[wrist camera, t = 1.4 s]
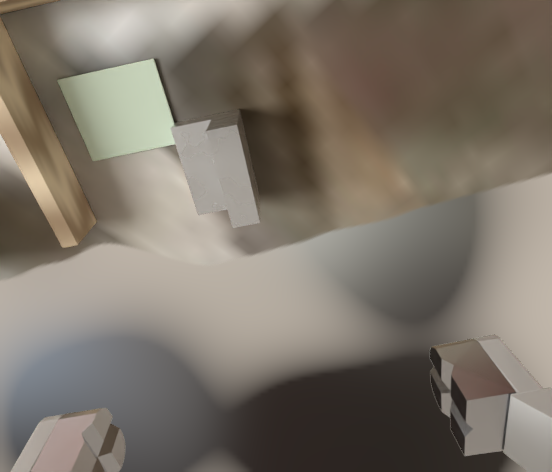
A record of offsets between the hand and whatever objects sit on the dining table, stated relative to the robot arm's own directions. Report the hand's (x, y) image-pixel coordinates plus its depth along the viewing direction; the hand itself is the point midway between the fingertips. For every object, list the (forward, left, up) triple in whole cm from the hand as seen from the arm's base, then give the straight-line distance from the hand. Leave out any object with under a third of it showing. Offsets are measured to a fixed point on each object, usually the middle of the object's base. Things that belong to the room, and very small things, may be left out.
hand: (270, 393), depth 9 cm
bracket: (0, -3, -23) cm, 24 cm away
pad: (-5, -9, -23) cm, 25 cm away
